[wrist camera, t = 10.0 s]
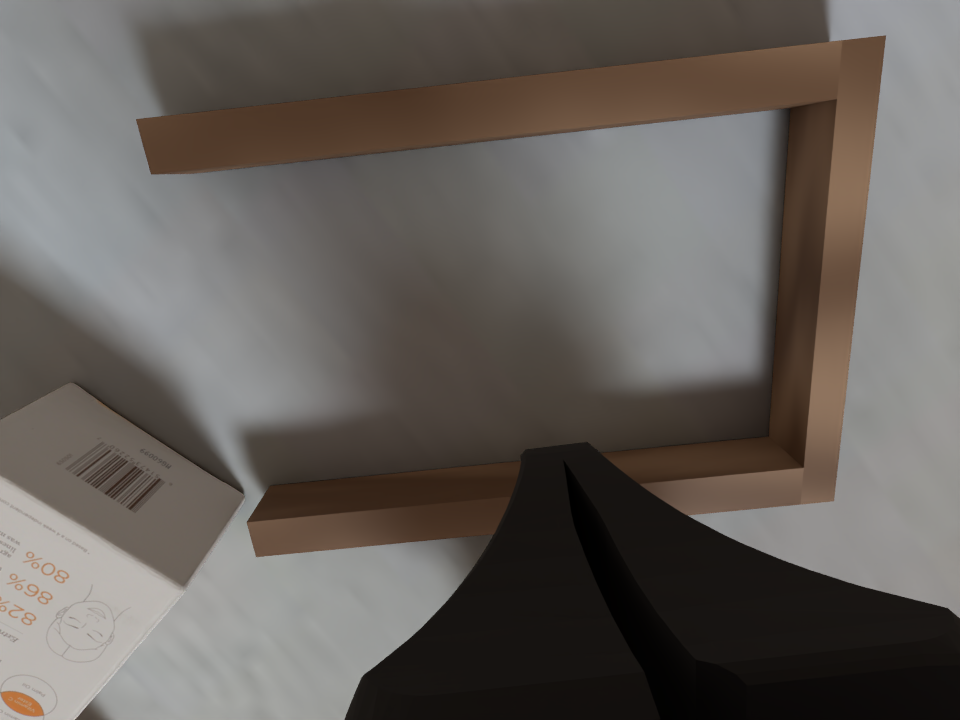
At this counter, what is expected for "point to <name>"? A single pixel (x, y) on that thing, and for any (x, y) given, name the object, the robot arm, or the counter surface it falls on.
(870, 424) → the counter surface
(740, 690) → the robot arm
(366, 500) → the open wooden frame
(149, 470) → the small box
